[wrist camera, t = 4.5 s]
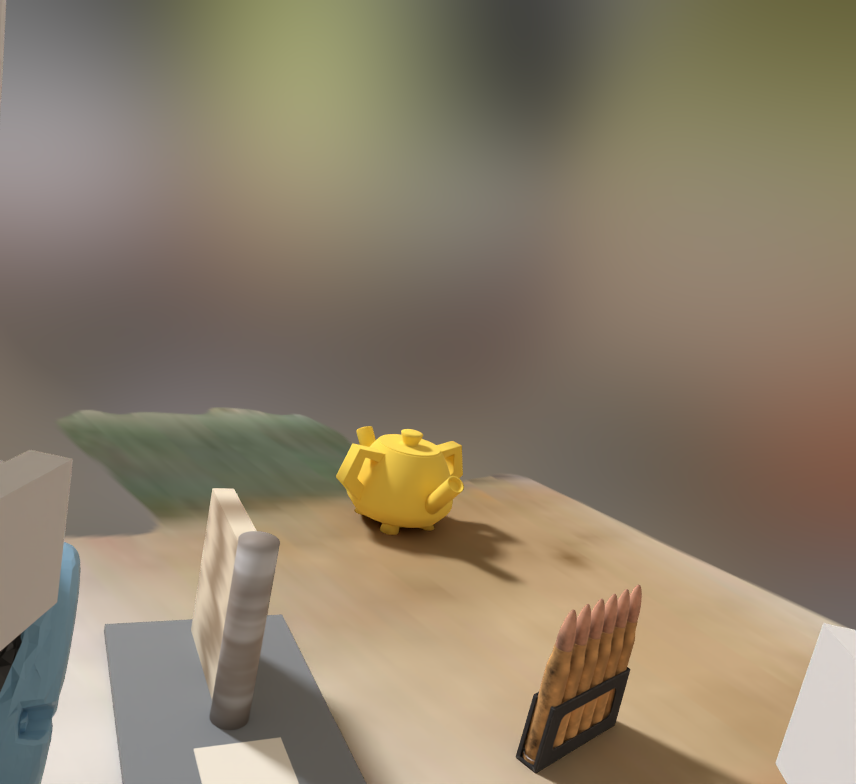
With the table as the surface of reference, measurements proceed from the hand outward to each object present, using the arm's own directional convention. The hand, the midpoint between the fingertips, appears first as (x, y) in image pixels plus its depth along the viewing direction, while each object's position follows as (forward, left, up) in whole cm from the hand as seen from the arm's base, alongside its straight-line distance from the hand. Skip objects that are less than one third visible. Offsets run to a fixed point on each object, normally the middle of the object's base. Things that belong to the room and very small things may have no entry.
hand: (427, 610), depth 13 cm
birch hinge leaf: (-13, +37, -28) cm, 48 cm away
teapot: (-4, +75, -29) cm, 81 cm away
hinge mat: (-10, +32, -29) cm, 44 cm away
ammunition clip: (+14, +40, -29) cm, 51 cm away
